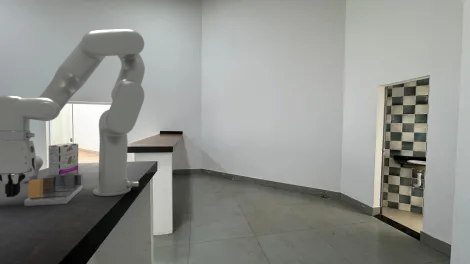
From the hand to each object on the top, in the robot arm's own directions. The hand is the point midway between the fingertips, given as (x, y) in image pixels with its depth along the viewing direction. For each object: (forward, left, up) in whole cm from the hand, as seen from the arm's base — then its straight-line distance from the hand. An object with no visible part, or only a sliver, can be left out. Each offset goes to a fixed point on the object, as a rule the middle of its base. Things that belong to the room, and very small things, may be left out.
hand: (12, 195), depth 73 cm
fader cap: (-6, 0, -1) cm, 6 cm away
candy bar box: (-5, -26, -3) cm, 27 cm away
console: (-9, -7, -3) cm, 12 cm away
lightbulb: (+7, -30, -3) cm, 31 cm away
